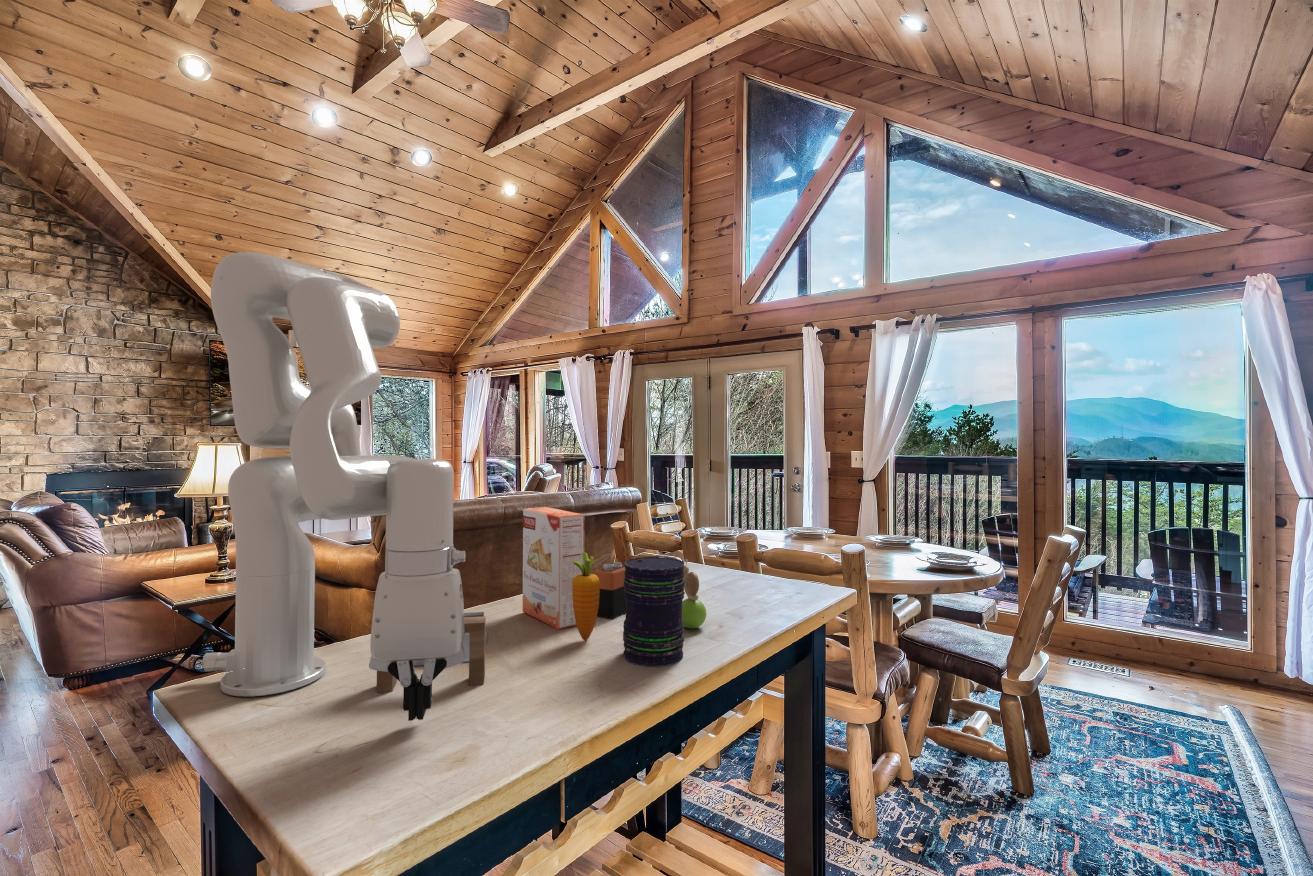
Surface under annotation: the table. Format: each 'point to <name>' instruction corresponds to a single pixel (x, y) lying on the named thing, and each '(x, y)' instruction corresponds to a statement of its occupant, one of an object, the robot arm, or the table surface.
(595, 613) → the carrot
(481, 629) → the bridge
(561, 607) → the cracker box
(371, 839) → the table surface
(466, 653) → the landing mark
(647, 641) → the dark blue cylinder
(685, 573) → the snail figurine
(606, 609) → the battery
